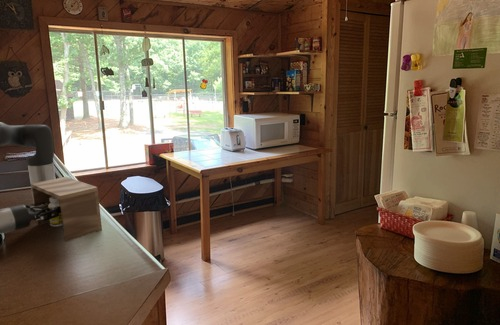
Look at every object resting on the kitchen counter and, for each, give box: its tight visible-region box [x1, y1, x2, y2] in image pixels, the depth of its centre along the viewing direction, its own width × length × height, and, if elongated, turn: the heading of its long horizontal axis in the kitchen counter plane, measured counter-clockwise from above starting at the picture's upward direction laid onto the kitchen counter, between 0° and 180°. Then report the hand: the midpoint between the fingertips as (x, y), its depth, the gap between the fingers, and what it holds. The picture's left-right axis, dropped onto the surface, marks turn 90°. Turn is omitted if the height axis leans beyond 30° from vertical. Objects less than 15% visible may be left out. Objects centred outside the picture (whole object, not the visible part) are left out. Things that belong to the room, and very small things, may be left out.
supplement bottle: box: [48, 196, 63, 227], centre depth 123 cm, size 5×5×10 cm
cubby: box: [30, 176, 103, 243], centre depth 124 cm, size 23×12×15 cm, turn 51°
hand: (64, 205), depth 125 cm, fingers closed on supplement bottle, 5 cm apart
